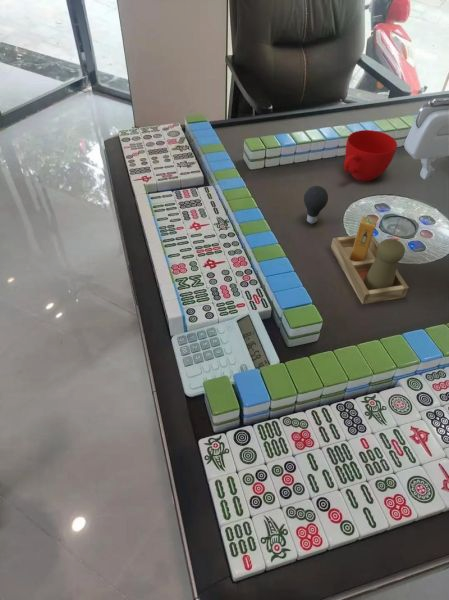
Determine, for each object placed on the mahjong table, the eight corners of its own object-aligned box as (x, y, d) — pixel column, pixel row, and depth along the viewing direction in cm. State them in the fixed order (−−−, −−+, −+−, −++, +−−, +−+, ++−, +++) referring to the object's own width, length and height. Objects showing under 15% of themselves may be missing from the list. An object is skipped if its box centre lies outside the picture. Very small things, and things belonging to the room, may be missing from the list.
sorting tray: (368, 242, 102) (371, 232, 100) (404, 297, 90) (409, 287, 88) (330, 247, 101) (332, 237, 98) (362, 304, 89) (365, 294, 86)
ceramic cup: (321, 178, 120) (328, 145, 113) (358, 158, 128) (366, 125, 120) (359, 199, 114) (369, 164, 106) (395, 176, 121) (407, 142, 114)
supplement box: (366, 254, 98) (378, 218, 91) (363, 263, 96) (375, 228, 89) (352, 250, 99) (363, 214, 92) (348, 259, 97) (359, 223, 90)
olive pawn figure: (360, 274, 94) (373, 234, 86) (388, 273, 94) (403, 234, 86) (367, 294, 90) (382, 254, 81) (396, 293, 90) (413, 254, 82)
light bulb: (326, 220, 107) (334, 186, 100) (316, 232, 104) (323, 197, 97) (306, 213, 110) (312, 178, 102) (295, 224, 106) (301, 189, 99)
